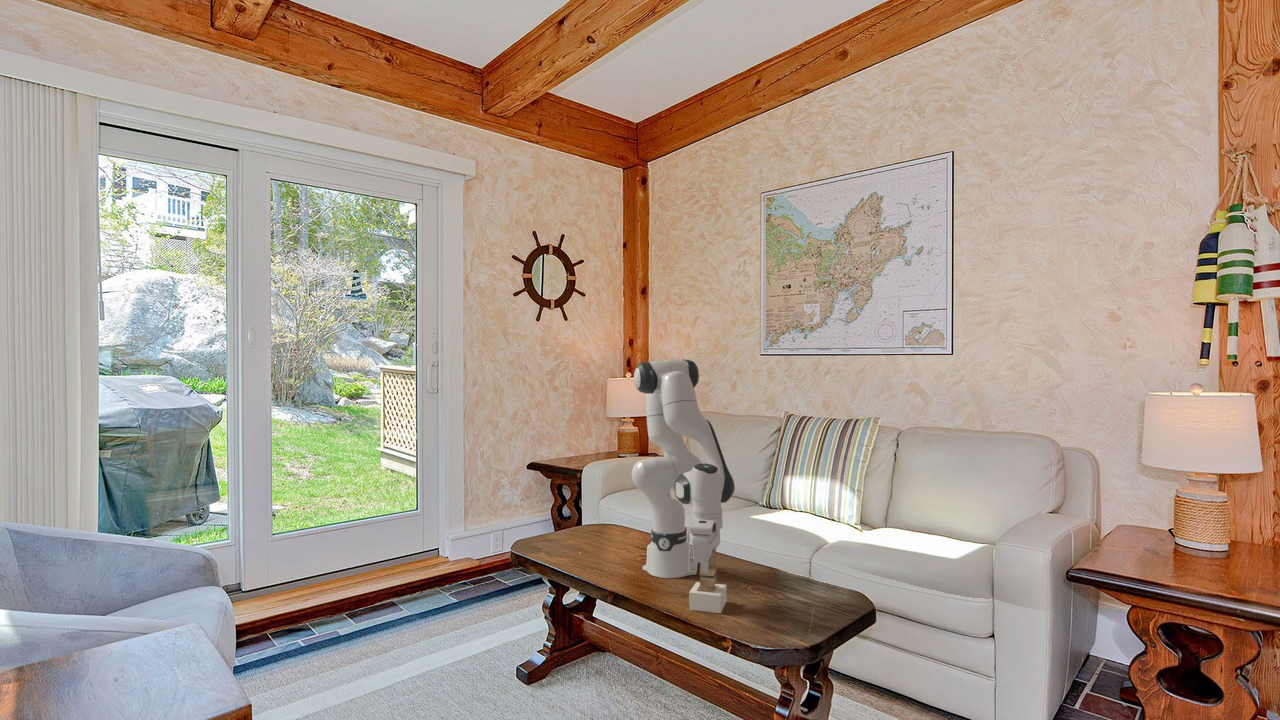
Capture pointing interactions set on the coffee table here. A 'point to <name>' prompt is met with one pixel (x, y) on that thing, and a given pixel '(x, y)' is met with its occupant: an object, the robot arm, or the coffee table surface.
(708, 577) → the oak peg
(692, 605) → the socket board
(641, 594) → the coffee table surface
